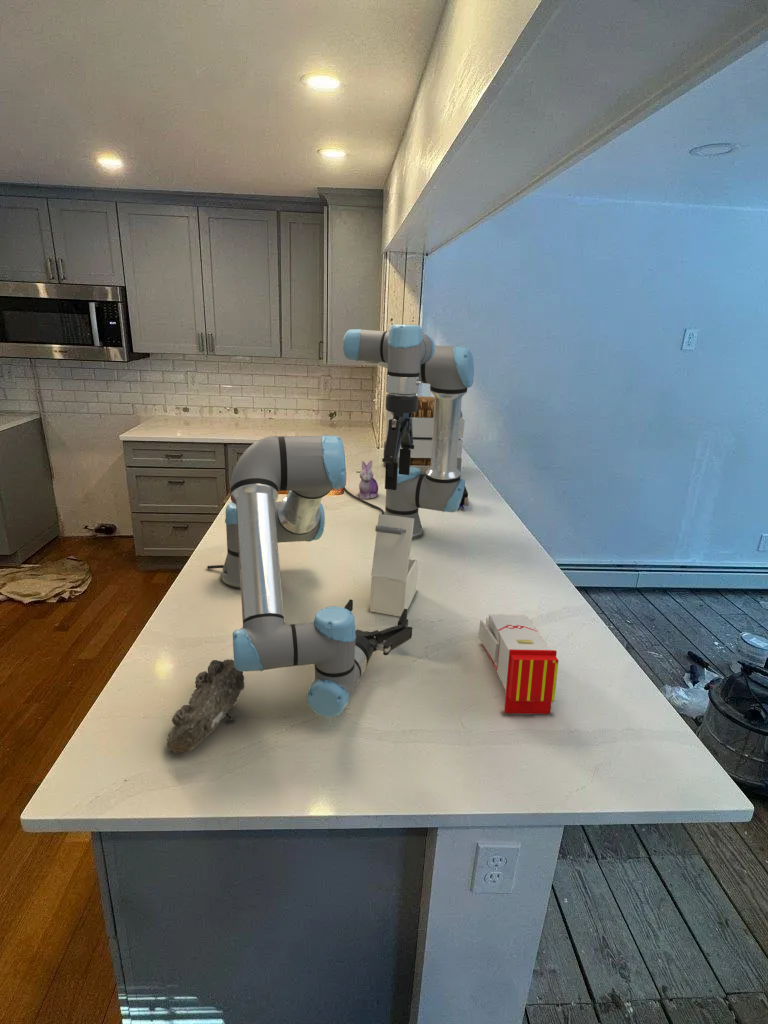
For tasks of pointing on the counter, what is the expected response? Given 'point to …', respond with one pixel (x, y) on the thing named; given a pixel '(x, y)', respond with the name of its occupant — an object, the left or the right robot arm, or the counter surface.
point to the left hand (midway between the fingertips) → (378, 609)
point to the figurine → (367, 482)
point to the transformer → (424, 434)
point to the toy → (521, 662)
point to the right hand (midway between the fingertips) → (397, 481)
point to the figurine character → (464, 499)
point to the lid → (392, 547)
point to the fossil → (206, 705)
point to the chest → (394, 592)
